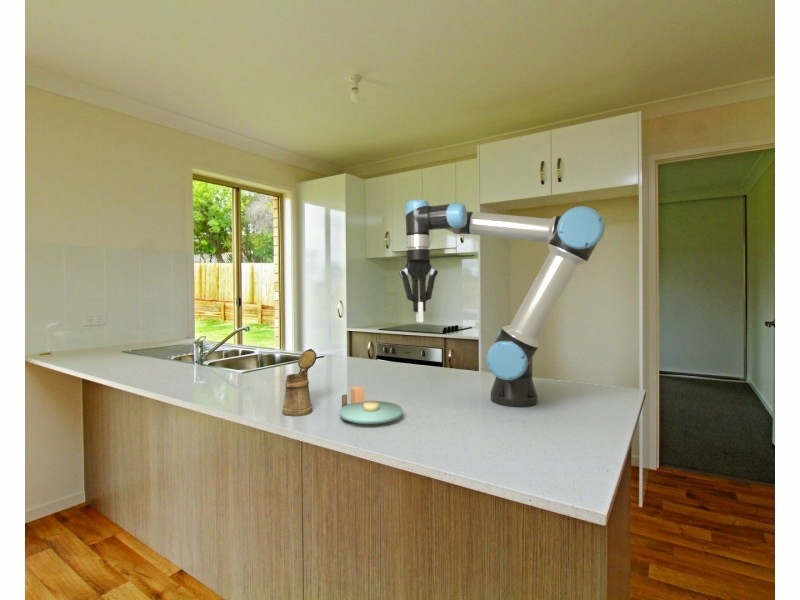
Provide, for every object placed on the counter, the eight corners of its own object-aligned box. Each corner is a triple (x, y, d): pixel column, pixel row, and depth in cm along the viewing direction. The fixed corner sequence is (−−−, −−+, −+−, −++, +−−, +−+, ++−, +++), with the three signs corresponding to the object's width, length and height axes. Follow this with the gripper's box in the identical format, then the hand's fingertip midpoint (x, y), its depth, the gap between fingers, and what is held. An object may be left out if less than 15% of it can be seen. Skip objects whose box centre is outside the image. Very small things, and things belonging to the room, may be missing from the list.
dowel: (347, 410, 132) (347, 394, 132) (346, 412, 131) (346, 396, 131) (342, 410, 133) (342, 394, 133) (341, 412, 131) (341, 395, 131)
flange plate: (381, 399, 140) (381, 383, 140) (413, 417, 122) (413, 399, 122) (327, 407, 132) (327, 390, 132) (353, 427, 113) (353, 408, 113)
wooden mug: (324, 405, 139) (324, 349, 138) (303, 417, 126) (302, 356, 125) (299, 402, 142) (299, 347, 141) (276, 414, 129) (275, 354, 128)
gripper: (432, 250, 146) (434, 320, 147) (395, 250, 142) (397, 322, 143) (441, 248, 139) (442, 321, 140) (402, 248, 135) (404, 323, 136)
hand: (419, 321), depth 141 cm, fingers closed
